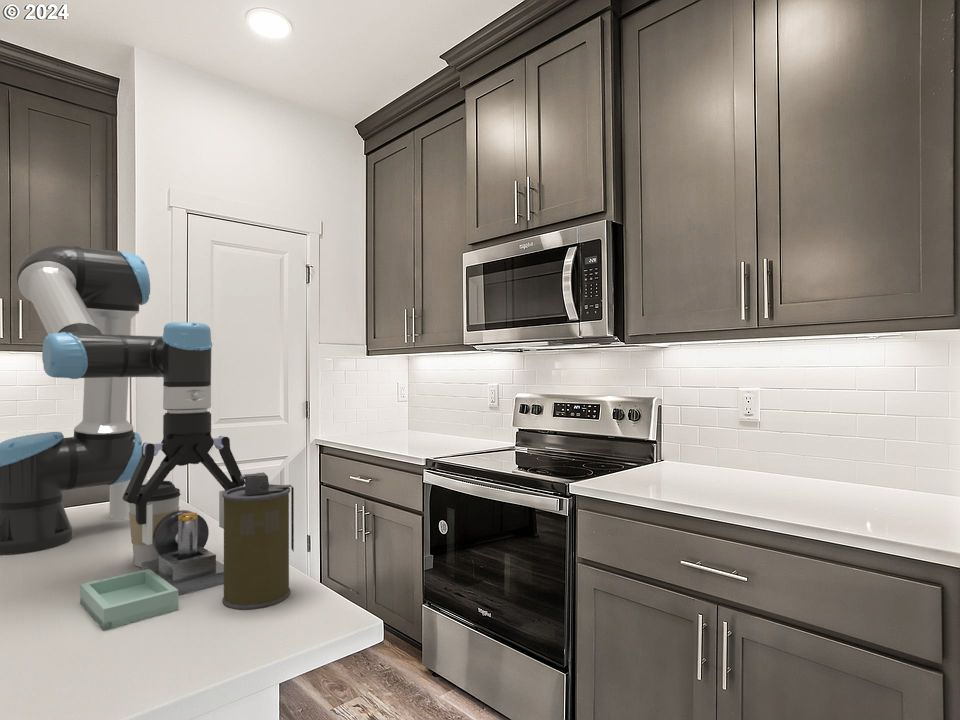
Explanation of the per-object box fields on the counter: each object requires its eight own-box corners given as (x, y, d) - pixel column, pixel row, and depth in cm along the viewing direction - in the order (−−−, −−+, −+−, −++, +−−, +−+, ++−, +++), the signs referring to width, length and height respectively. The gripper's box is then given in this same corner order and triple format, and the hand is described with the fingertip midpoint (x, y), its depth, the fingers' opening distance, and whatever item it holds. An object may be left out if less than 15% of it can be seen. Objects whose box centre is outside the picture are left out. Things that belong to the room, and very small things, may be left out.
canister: (224, 614, 89) (224, 482, 89) (220, 591, 98) (220, 472, 98) (298, 601, 94) (298, 476, 94) (287, 580, 103) (287, 466, 103)
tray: (80, 603, 93) (80, 584, 94) (149, 586, 101) (149, 568, 101) (103, 630, 84) (103, 609, 84) (178, 609, 91) (178, 590, 91)
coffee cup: (157, 570, 109) (157, 489, 109) (115, 567, 110) (116, 487, 111) (190, 555, 117) (190, 480, 118) (151, 552, 119) (151, 478, 120)
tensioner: (141, 573, 107) (141, 513, 107) (198, 560, 114) (198, 504, 114) (171, 597, 96) (171, 529, 96) (232, 581, 103) (232, 518, 103)
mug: (157, 507, 158) (157, 469, 158) (167, 512, 152) (167, 472, 153) (106, 515, 150) (106, 475, 150) (114, 521, 144) (114, 479, 144)
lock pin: (175, 572, 102) (175, 514, 102) (193, 567, 104) (193, 511, 104) (181, 576, 100) (181, 517, 100) (199, 572, 102) (200, 514, 102)
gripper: (114, 416, 91) (113, 555, 91) (264, 408, 108) (264, 525, 108) (101, 414, 96) (101, 545, 96) (246, 406, 113) (246, 518, 113)
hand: (187, 535), depth 102 cm, fingers open, 12 cm apart
